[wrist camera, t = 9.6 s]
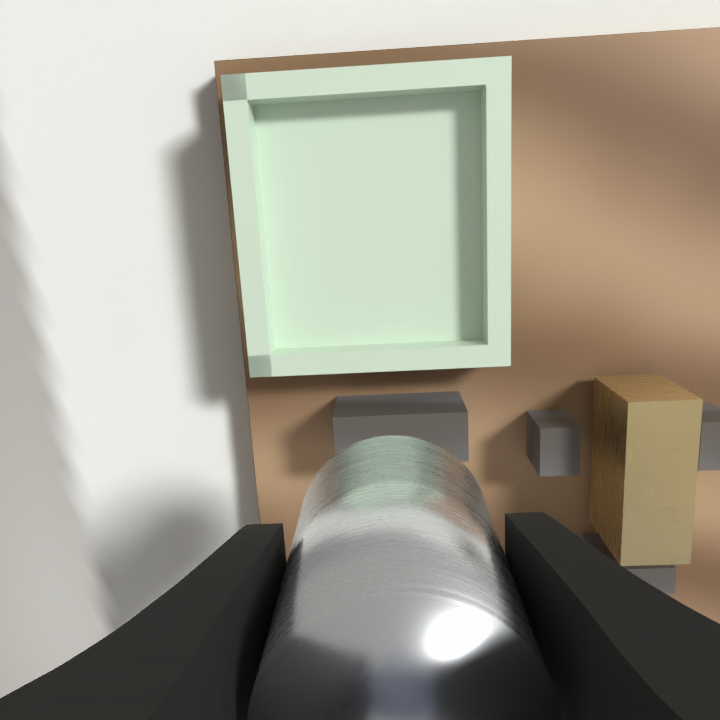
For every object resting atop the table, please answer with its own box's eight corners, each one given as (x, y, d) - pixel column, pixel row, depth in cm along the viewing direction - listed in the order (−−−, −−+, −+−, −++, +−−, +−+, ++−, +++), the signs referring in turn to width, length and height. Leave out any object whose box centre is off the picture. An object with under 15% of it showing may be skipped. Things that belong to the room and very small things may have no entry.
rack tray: (499, 352, 18) (510, 365, 16) (260, 363, 18) (249, 377, 17) (498, 71, 16) (511, 55, 15) (235, 87, 16) (220, 75, 15)
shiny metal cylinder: (489, 601, 12) (562, 857, 7) (309, 608, 12) (264, 863, 8) (485, 430, 11) (563, 590, 7) (292, 440, 12) (228, 604, 7)
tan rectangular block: (649, 518, 19) (690, 563, 16) (589, 520, 19) (620, 566, 16) (658, 373, 18) (702, 399, 15) (594, 376, 18) (628, 402, 15)
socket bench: (779, 614, 21) (844, 680, 18) (277, 628, 21) (261, 693, 19) (847, 28, 17) (946, -12, 14) (223, 69, 17) (191, 40, 14)
